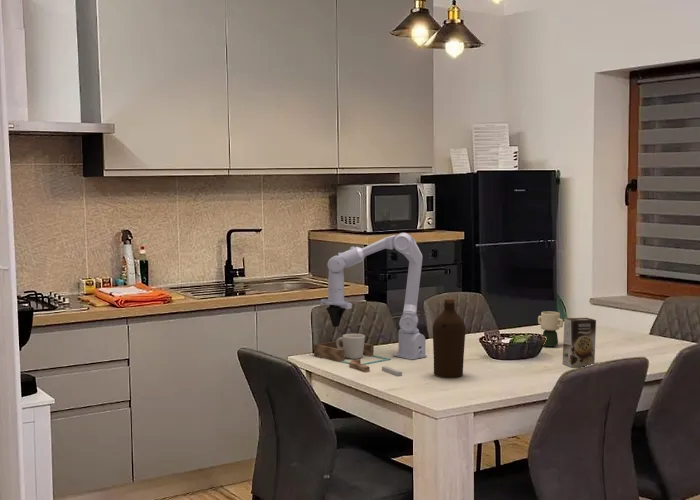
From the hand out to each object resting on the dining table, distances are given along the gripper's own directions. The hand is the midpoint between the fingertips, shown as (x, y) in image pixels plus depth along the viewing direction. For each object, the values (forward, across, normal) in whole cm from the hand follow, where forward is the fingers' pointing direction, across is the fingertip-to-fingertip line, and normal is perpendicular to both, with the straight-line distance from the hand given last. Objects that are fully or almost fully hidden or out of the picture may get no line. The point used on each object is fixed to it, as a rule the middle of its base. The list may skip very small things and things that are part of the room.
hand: (335, 326), depth 322 cm
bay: (+10, +15, 0) cm, 18 cm away
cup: (+10, +8, 0) cm, 13 cm away
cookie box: (+10, +69, +50) cm, 86 cm away
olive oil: (+10, +49, +5) cm, 51 cm away
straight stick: (+10, +35, -7) cm, 38 cm away
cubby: (+10, +5, 0) cm, 11 cm away
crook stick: (+10, +24, -10) cm, 28 cm away
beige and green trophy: (+10, +43, +71) cm, 84 cm away
